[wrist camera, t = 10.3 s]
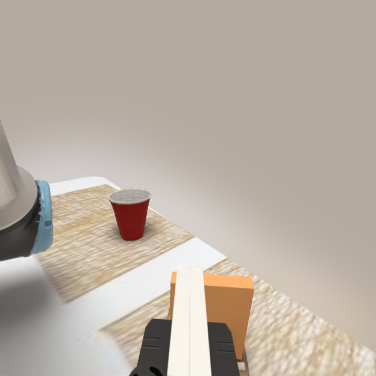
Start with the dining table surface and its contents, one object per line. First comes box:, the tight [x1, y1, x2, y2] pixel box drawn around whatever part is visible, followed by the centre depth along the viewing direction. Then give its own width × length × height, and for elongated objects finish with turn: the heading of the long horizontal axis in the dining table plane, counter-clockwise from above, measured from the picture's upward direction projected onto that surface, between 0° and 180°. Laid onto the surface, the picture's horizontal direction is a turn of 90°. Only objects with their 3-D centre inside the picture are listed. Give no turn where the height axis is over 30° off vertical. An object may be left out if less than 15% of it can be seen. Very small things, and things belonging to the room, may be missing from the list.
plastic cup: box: [108, 189, 152, 241], centre depth 64 cm, size 11×11×12 cm
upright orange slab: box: [170, 272, 254, 359], centre depth 33 cm, size 2×10×12 cm, turn 87°
